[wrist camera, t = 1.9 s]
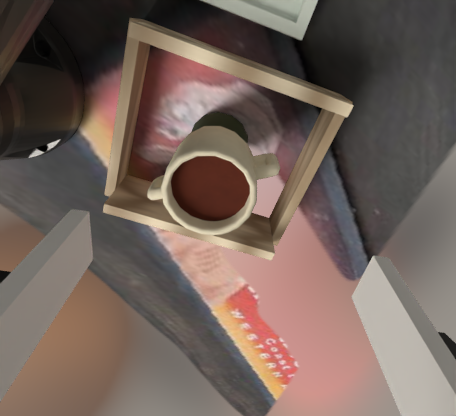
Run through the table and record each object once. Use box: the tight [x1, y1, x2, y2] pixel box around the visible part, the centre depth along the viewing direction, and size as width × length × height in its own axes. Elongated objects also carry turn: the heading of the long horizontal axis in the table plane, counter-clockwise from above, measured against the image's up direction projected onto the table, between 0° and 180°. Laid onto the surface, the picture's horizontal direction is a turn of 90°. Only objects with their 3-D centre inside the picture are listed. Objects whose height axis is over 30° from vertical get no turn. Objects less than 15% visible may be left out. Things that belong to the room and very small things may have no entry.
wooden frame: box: [103, 18, 354, 260], centre depth 30 cm, size 20×17×7 cm
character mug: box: [147, 112, 280, 235], centre depth 27 cm, size 11×7×13 cm, turn 103°
